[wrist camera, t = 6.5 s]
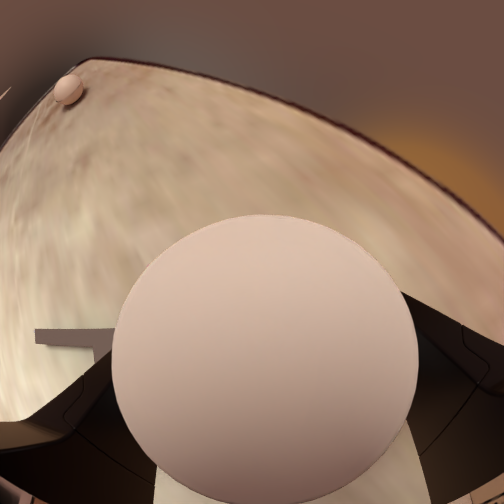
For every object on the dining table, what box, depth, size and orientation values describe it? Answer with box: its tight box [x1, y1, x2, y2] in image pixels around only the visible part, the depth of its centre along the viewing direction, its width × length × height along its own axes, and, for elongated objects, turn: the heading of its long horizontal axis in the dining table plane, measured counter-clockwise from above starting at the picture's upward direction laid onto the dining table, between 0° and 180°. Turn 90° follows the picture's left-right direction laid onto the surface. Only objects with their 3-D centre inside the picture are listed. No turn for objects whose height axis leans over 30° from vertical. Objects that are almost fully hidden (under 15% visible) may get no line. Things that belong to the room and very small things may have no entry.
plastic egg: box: [54, 75, 83, 105], centre depth 32 cm, size 8×6×6 cm
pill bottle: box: [112, 215, 419, 504], centre depth 9 cm, size 6×6×12 cm
